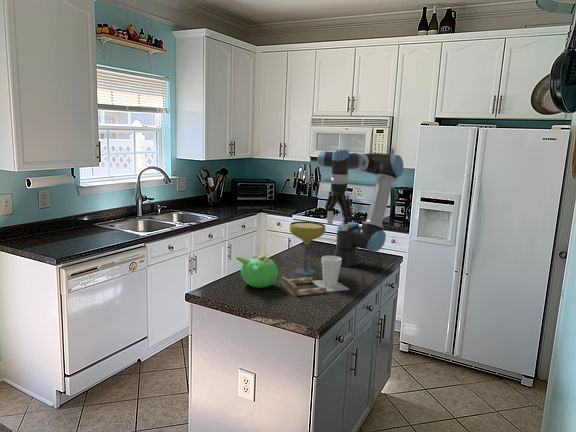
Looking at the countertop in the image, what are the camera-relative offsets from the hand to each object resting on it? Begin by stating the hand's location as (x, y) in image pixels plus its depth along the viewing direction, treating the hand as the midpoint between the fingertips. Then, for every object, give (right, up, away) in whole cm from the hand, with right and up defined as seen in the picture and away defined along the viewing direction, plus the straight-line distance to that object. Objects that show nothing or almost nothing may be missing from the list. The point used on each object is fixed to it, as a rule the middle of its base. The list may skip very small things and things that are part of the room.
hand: (337, 227), depth 211 cm
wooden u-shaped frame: (-16, -28, -7) cm, 33 cm away
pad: (-4, -28, -2) cm, 28 cm away
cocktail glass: (-15, -24, +18) cm, 33 cm away
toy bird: (-37, -27, -8) cm, 47 cm away
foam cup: (-4, -27, -2) cm, 28 cm away
